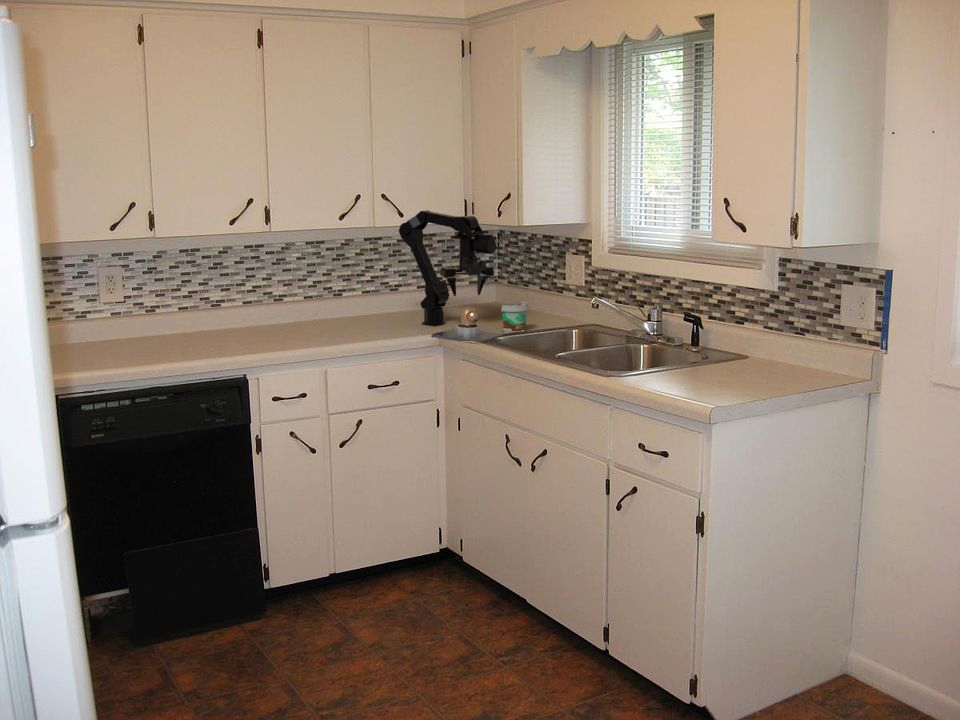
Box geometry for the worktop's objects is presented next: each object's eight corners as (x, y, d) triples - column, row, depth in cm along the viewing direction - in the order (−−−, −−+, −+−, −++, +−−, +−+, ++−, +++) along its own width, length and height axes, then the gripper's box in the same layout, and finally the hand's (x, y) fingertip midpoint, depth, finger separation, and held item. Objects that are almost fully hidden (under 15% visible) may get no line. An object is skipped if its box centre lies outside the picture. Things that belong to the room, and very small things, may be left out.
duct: (431, 336, 342) (431, 325, 342) (458, 330, 354) (458, 319, 353) (478, 344, 331) (478, 332, 330) (504, 337, 343) (504, 325, 342)
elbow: (467, 337, 336) (467, 311, 334) (458, 333, 344) (458, 307, 342) (481, 336, 338) (481, 310, 336) (471, 332, 345) (472, 306, 343)
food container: (515, 335, 346) (515, 307, 344) (501, 333, 350) (501, 305, 348) (535, 330, 356) (535, 302, 354) (521, 328, 359) (521, 300, 357)
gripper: (450, 255, 342) (450, 300, 346) (500, 253, 349) (499, 297, 352) (439, 251, 352) (439, 295, 356) (488, 250, 359) (487, 293, 362)
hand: (466, 295), depth 356 cm, fingers open, 9 cm apart
